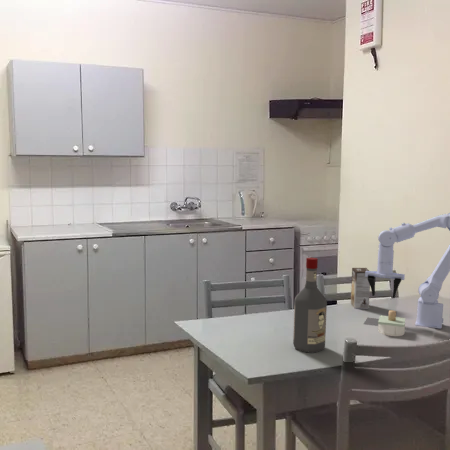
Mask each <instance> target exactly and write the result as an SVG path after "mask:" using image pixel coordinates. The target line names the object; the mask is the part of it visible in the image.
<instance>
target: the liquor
mask: <svg viewBox="0 0 450 450" xmlns="http://www.w3.org/2000/svg"><path fill="white" fill-rule="evenodd" d="M318 260H319V258H317V257H306V259H305V261H306V263H305V268H306V274H305V275H306V276H305V285H304V287H303V288H302V289H301V290H300V291H299V292H298V293H297V294H296V295H295V298H294V303H293V304H294V307H293V309H294V311H293V336H292V337H293V340H292V344H293V347H294V349H295V350H298V351H302V352H304V353H317V352H321V351H323V350H324V349H325V348H326V333H327V332H326V331H327V311H328V310H327V307H328V302H327V299H326V297H325V295H324V294H323V293H322V292H321V290H319V288H318V282H317V281H318V280H317V279H318V277H317V276H318V275H317V273H318V266H319V264H318Z"/></svg>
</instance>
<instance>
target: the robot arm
mask: <svg viewBox="0 0 450 450" xmlns="http://www.w3.org/2000/svg"><path fill="white" fill-rule="evenodd" d="M437 227H438V228H442V229H447V230H448V231H449V232H450V212H449V213H444V214H440V215H436V216H434V217H431V218H428V219H425V220H423V221H420V222H418V223H414V224H411V223H410V222H408V223H405V222H402V223H401V225H398V226H395V227H389V228H388V229H389V230H388V229H384V230H382V231H380V233H379V235H378V236H377V238H378V242H379V243H378V250H377V270H375V271H374V270H369V271H366V272H365V277H368V282H369V284H370V291H371V295H372V297H375V296H376V279H377V278H382V279H392V280H393V292H392V299H395V298H396V294H397V291H398V288H399V286H400V284H401V282H402V281H405V279H406V278H405V275H406V274H404V273H397V272H394V270H393V269H394V253H395V251H394V245H395V244H396V243H397V244H398V243H400V242H404V241H407V240H410V239H413V238H414V237H415V235H416V234H417V233H420V232H424V231H427V230H430V229H434V228H437ZM449 273H450V244H449V245H448V247H447V249H445V251H444V253H443V255H442V256H441V258H440V259H439V262H437V265H436V266H435V267H434V270H433V271H432V272H431V274H430V275H429V276H428V277H427V278H426V279H425V281H424V282H422V283H421V284H420V285H419V286H418V291H417V292H418V293H419V295H420V297H419V298H418V299H417V310H416V320H415V323H414V326H416V327H417V326H418V327H424V328H425V327H426V328H432V329H442V328H443V323H444V318H443V317H444V316H443V315H444V314H443V313H444V303H441V302H439V296H440V292H441V290H442V286H443V283H444V281H445V279H446V278H447V276H448V275H449Z"/></svg>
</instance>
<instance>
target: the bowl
mask: <svg viewBox="0 0 450 450" xmlns="http://www.w3.org/2000/svg"><path fill="white" fill-rule="evenodd" d="M377 331H378V333H379V334H381V335H384V336H389V337H401V336H404V335H405V332H406V325H405V326H404V327H401V326H392V325H383V324H378V326H377Z"/></svg>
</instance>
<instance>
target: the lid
mask: <svg viewBox="0 0 450 450" xmlns="http://www.w3.org/2000/svg"><path fill="white" fill-rule="evenodd" d="M378 319H379V321H378V324H383V325H392V326H401V327H404V326H405V327H406V317H399V316H397V311H396V310H388V315H379V317H378Z"/></svg>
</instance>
